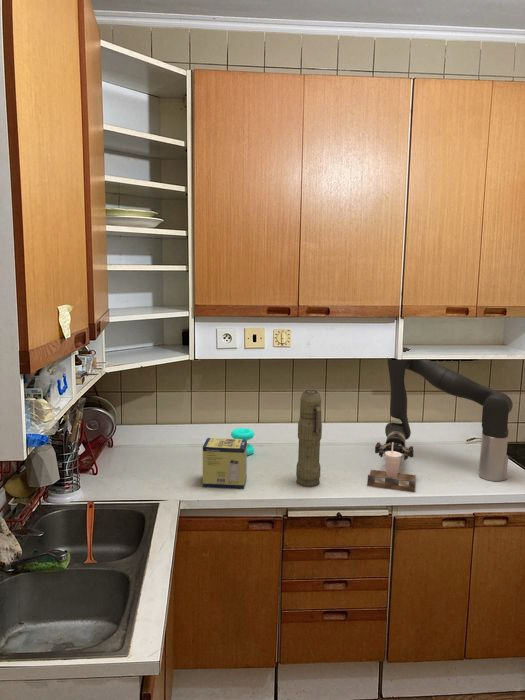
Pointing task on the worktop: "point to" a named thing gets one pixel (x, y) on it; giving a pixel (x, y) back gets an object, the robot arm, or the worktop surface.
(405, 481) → the shelf board
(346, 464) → the worktop surface
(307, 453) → the thermos
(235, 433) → the donuts
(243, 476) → the protein box
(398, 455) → the smoothie
